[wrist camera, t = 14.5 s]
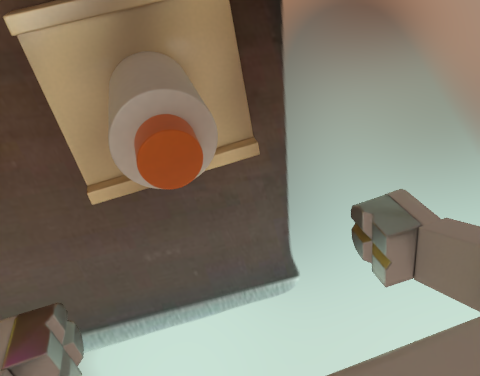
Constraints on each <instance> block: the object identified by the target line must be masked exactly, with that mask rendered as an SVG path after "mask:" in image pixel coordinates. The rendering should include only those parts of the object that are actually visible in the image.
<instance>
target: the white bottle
mask: <svg viewBox="0 0 480 376" xmlns="http://www.w3.org/2000/svg"><path fill="white" fill-rule="evenodd" d="M108 140H109V149H110V153H111V156H112V158H113V160H114V162H115V164H116V166H117V167H118V168H119V170H120V171H121V172H122V173H123V174H124V175H125V176H127V177H128V178H129V179H131V180H132V181H134V182H136V183H138V184H140V185H143V186H146V187H150V188H156V189H177V188H180V187H183V186H185V185H187V184H189V183H190V182H191V181H193V180H194V179H195V178H197V177H198V176H199V175H200V174H202V173H203V172H204V171H205V169H206V168H207V167H208V166H209V164H210V163H211V161H212V159H213V157H214V154H215V152H216V148H217V142H218V132H217V126H216V123H215V120H214V118H213V116H212V114H211V112H210V111H209V109H208V108H207V106H206V105H205V103H204V101H203V100H202V98H201V97H200V95H199V94H198V92H197V90H196V89H195V87H194V86H193V84H192V83H191V81H190V79H189V78H188V76H187V75H186V73H185V72H184V70H183V69H182V67H181V66H180V65H179V64H178V63H177V62H176V61H175V60H173V59H172V58H170V57H168V56H166V55H164V54H161V53H158V52H150V51H147V52H139V53H136V54H133V55H131V56H128V57H127V58H125V59H124V60H123V61H122V62H120V63H119V64H118V66H117V67H116V68H115V70H114V71H113V73H112V76H111V78H110V82H109V128H108Z"/></svg>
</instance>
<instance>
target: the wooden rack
mask: <svg viewBox="0 0 480 376" xmlns="http://www.w3.org/2000/svg"><path fill="white" fill-rule="evenodd" d="M3 19H4V21H5V23H6V25H7V27H8V29H9V31H10V34H11V35H12V36H16V35H17V38H18V40H19V42H20V44H21V46H22V48H23V50H24V52H25V55H26V57H27V59H28V61H29V63H30V65H31V67H32V69H33V72H34V74H35V76H36V78H37V80H38V82H39V84H40V86H41V89H42V91H43V93H44V95H45V97H46V99H47V101H48V103H49V106H50V108H51V110H52V112H53V114H54V116H55V118H56V120H57V123H58V125H59V127H60V129H61V131H62V133H63V135H64V137H65V140H66V142H67V144H68V146H69V148H70V150H71V152H72V154H73V157H74V159H75V161H76V163H77V165H78V167H79V169H80V171H81V174H82V176H83V178H84V180H85V182H86V184H87V186H88V187H87V195H88V197H89V199H90V201H91V203H92V205H94V204H97V203H101V202H104V201H107V200H111V199H114V198H117V197H120V196H124V195H127V194H130V193H134V192H137V191H140V190H144V189H147V188H150V187H146V186H143V185H140V184H138V183H136V182H134V181H132V180H131V179H129V178H128V177H127V176H125V175H124V174H123V173H122V172H121V171H120V170H119V168H118V167H117V166H116V164H115V162H114V160H113V158H112V156H111V153H110V149H109V140H108V128H109V82H110V78H111V76H112V73H113V71H114V70H115V68H116V67H117V66H118V64H119V63H120V62H122V61H123V60H124V59H125V58H127V57H128V56H131V55H133V54H136V53H139V52H147V51H150V52H158V53H161V54H164V55H166V56H168V57H170V58H172V59H173V60H175V61H176V62H177V63H178V64H179V65H180V66H181V67H182V69H183V70H184V72H185V73H186V75H187V76H188V78H189V79H190V81H191V83H192V84H193V86H194V87H195V89H196V90H197V92H198V94H199V95H200V97H201V98H202V100H203V101H204V103H205V105H206V106H207V108H208V109H209V111H210V112H211V114H212V116H213V118H214V120H215V123H216V126H217V132H218V142H217V148H216V152H215V154H214V157H213V159H212V161H211V163H210V164H209V166H208V167H207V168H206V169H205V171H206V170H210V169H213V168H216V167H220V166H223V165H226V164H230V163H233V162H236V161H239V160H243V159H246V158H249V157H253V156H256V155H259V154H260V152H259V146H258V142H257V141H256V140H255V138H254V136H253V131H252V125H251V119H250V114H249V108H248V103H247V97H246V91H245V86H244V80H243V75H242V69H241V63H240V58H239V52H238V47H237V41H236V35H235V30H234V24H233V19H232V13H231V8H230V2H229V0H56V1H52V2H48V3H43V4H39V5H34V6H30V7H26V8H21V9H17V10H13V11H11V12H9V13H8V14H6V15H5V16H3Z"/></svg>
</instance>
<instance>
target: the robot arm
mask: <svg viewBox="0 0 480 376" xmlns="http://www.w3.org/2000/svg"><path fill="white" fill-rule="evenodd" d="M351 218H352V219H353V220H354V221H355V222H356V223H355V225H354V227H353V228H352V239H353V242H354V246H355V248H356V250H357V252H358V254H359V255H360V256H361V258H362V259H363V260H365V261H367V262H370V263H372V271H373V272H374V274H375V275H376V276H377V277H378V279H379V280H380V281H381V282H382V284H383V285H384V286H385V287H388V286H391V285H394V284H397V283H400V282H403V281H406V280H409V279H413V278H414V279H415V280H416V281H418V282H420V283H422V284H424V285H426V286H428V287H431V288H433V289H435V290H437V291H439V292H441V293H443V294H445V295H447V296H449V297H451V298H453V299H455V300H457V301H459V302H461V303H463V304H465V305H467V306H469V307H471V308H473V309H475V310H478V311H479V312H480V227H479V226H476V225H472V224H468V223H464V222H460V221H457V220H453V219H449V218H444V219H440V218H439V217H438V216H437V215H435V214H434V213H433V212H431V210H429V209H428V208H426V206H424V205H423V204H422V203H421V202H419V201H418V200H417V199H416V198H414V197H413V196H412V195H411V194H410V193H408V192H407V191H406V190H403V189H399V190H396V191H393V192H391V193H388V194H385V195H383V196H380V197H377V198H374V199H371V200H368V201H365V202H362V203H359V204H356V205H353V206H352V209H351ZM67 313H68V311H67V310H66V308H65V307H64V306H63V304H62V303H55V304H51V305H48V306H45V307H41V308H38V309H35V310H32V311H28V312H25V313H22V314H19V315H17V316H13V317H10V318H7V319H3V320H0V376H82V373H81V371H80V370H79V368H78V367H77V366H78V365H79V363H80V362H81V360H82V359H83V351H84V347H83V341H82V336H81V333H80V331H79V328H78V327H77V325H76V324H75V322H72V321H69V320H67ZM327 376H480V317H478V318H475V319H473V320H470V321H467V322H465V323H462V324H460V325H457V326H455V327H452V328H449V329H447V330H444V331H441V332H439V333H436V334H434V335H431V336H428V337H426V338H423V339H421V340H418V341H415V342H413V343H410V344H408V345H405V346H403V347H400V348H397V349H395V350H392V351H389V352H387V353H384V354H382V355H379V356H377V357H374V358H371V359H369V360H366V361H363V362H361V363H358V364H356V365H353V366H351V367H348V368H345V369H343V370H340V371H338V372H335V373H332V374H330V375H327Z"/></svg>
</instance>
